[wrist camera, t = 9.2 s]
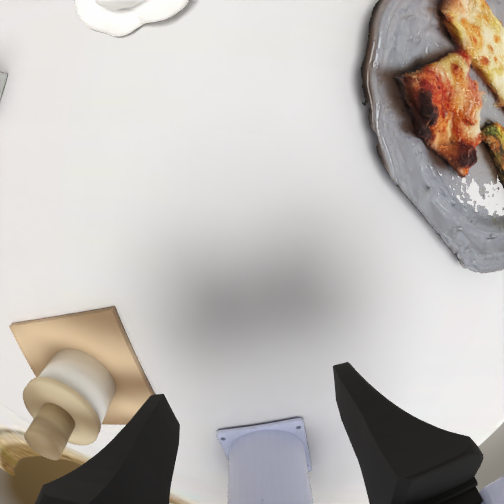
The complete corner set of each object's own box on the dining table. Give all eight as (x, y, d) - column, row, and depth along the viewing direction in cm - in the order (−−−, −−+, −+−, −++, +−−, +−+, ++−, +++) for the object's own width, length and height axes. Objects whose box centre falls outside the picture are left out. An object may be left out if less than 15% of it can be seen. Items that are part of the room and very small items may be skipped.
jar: (127, 403, 25) (113, 439, 21) (73, 404, 25) (55, 435, 21) (96, 345, 23) (74, 379, 19) (41, 350, 23) (17, 380, 19)
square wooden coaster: (167, 418, 26) (166, 422, 26) (68, 419, 27) (66, 422, 26) (114, 306, 22) (111, 310, 22) (12, 323, 23) (9, 326, 22)
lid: (114, 440, 21) (100, 480, 17) (53, 435, 21) (36, 468, 17) (74, 376, 19) (50, 416, 15) (14, 376, 19) (-12, 408, 15)
